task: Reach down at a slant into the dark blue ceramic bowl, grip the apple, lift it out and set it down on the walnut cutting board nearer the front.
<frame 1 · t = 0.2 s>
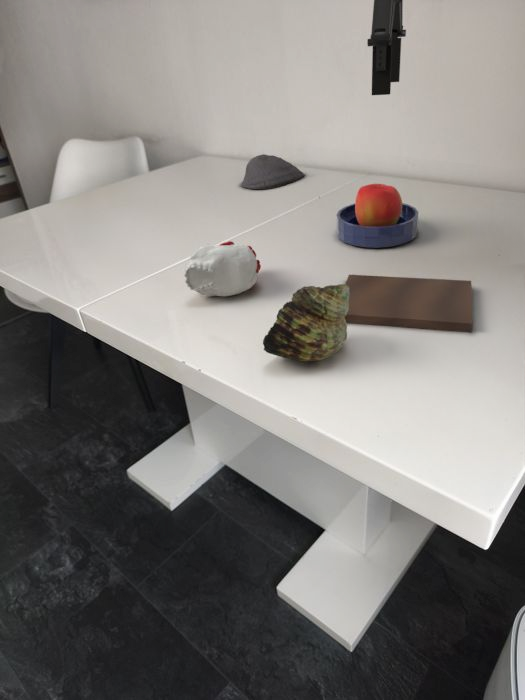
hand: (386, 88, 87), 29 cm above the table, tool pointing down, fingers open, 13 cm apart
bowl: (376, 234, 112), on the table
white rounded lumpy piece: (232, 289, 96), on the table
board: (404, 304, 86), on the table
seashell: (308, 353, 77), on the table
apple: (376, 233, 112), resting on bowl
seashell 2: (272, 180, 153), on the table
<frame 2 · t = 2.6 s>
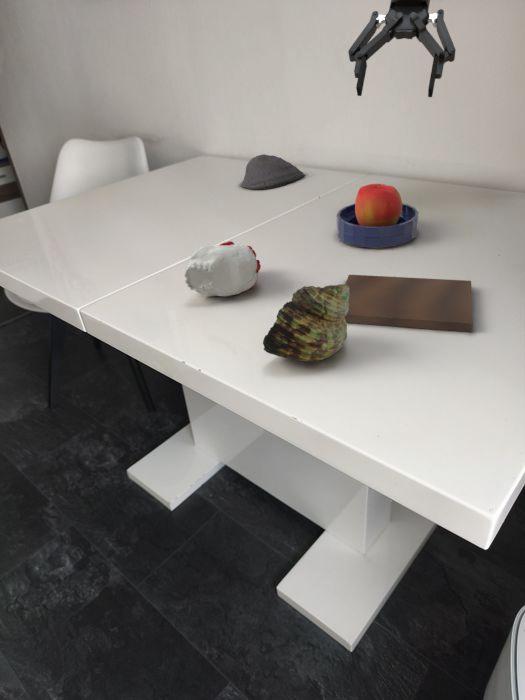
hand: (393, 92, 104), 26 cm above the table, tool tilted 40°, fingers open, 13 cm apart
nothing on the table moved.
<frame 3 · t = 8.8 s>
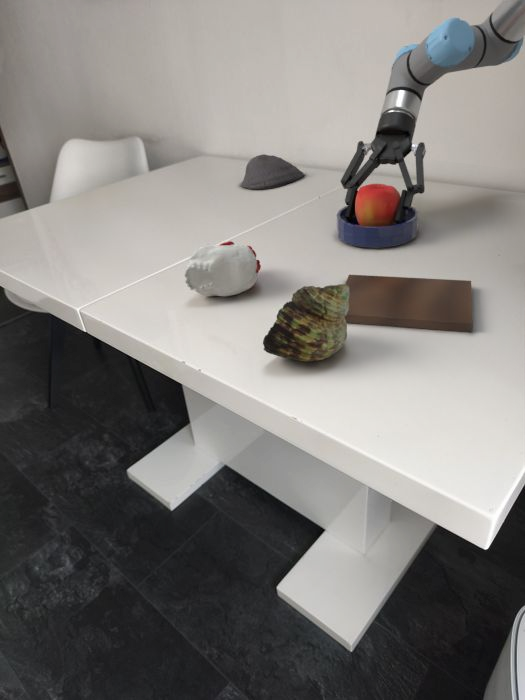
hand: (372, 221, 108), 4 cm above the table, tool tilted 45°, fingers closed on apple, 9 cm apart
apple: (376, 233, 112), resting on bowl, touching gripper
everything else where it was.
when the fingers open (5 cm above the table, at t = 18.7 s): apple stays where it is, resting on board.
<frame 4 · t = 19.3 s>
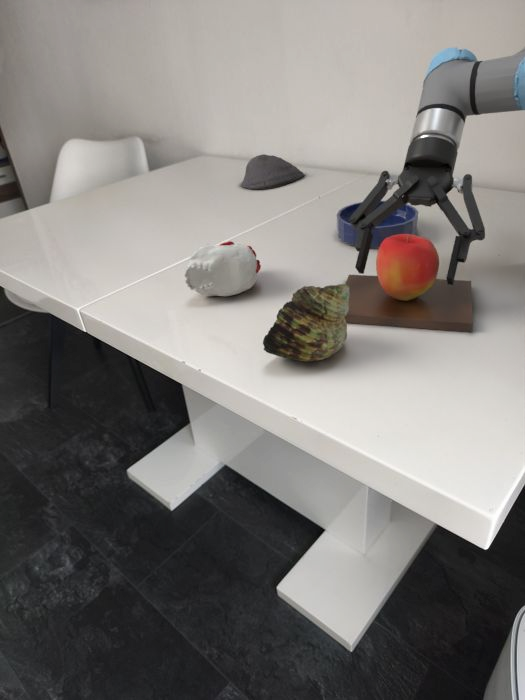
hand: (402, 276, 81), 6 cm above the table, tool tilted 45°, fingers open, 13 cm apart
apple: (403, 297, 85), point 1 cm above the table, touching board
everything else where it was.
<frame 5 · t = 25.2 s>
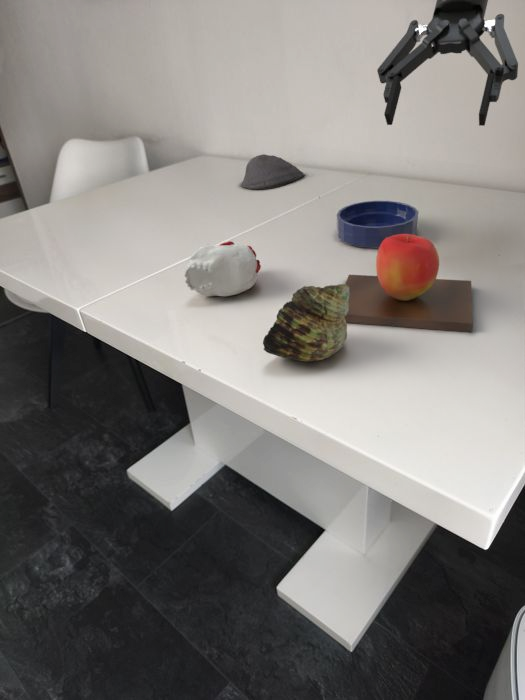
hand: (433, 120, 80), 26 cm above the table, tool tilted 45°, fingers open, 13 cm apart
nothing on the table moved.
at the end: apple inside the target area on the board (0.1 cm from its centre), point 1.3 cm above the board's base; the gripper is holding nothing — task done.
